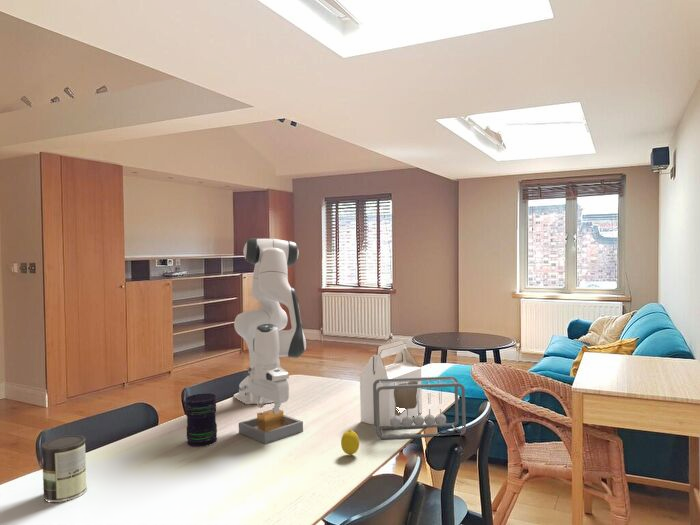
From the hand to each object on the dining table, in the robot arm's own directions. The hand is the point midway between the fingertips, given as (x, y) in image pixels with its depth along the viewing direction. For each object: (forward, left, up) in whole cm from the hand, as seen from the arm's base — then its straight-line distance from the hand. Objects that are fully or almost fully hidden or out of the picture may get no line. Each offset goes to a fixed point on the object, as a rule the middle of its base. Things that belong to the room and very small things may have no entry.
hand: (268, 410), depth 182 cm
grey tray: (+1, 0, -8) cm, 8 cm away
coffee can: (-1, -65, -8) cm, 65 cm away
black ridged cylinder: (-9, -21, -8) cm, 24 cm away
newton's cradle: (+40, +34, -8) cm, 53 cm away
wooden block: (+1, 0, -7) cm, 7 cm away
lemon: (+37, +4, -8) cm, 38 cm away
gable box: (+22, +41, -8) cm, 47 cm away
